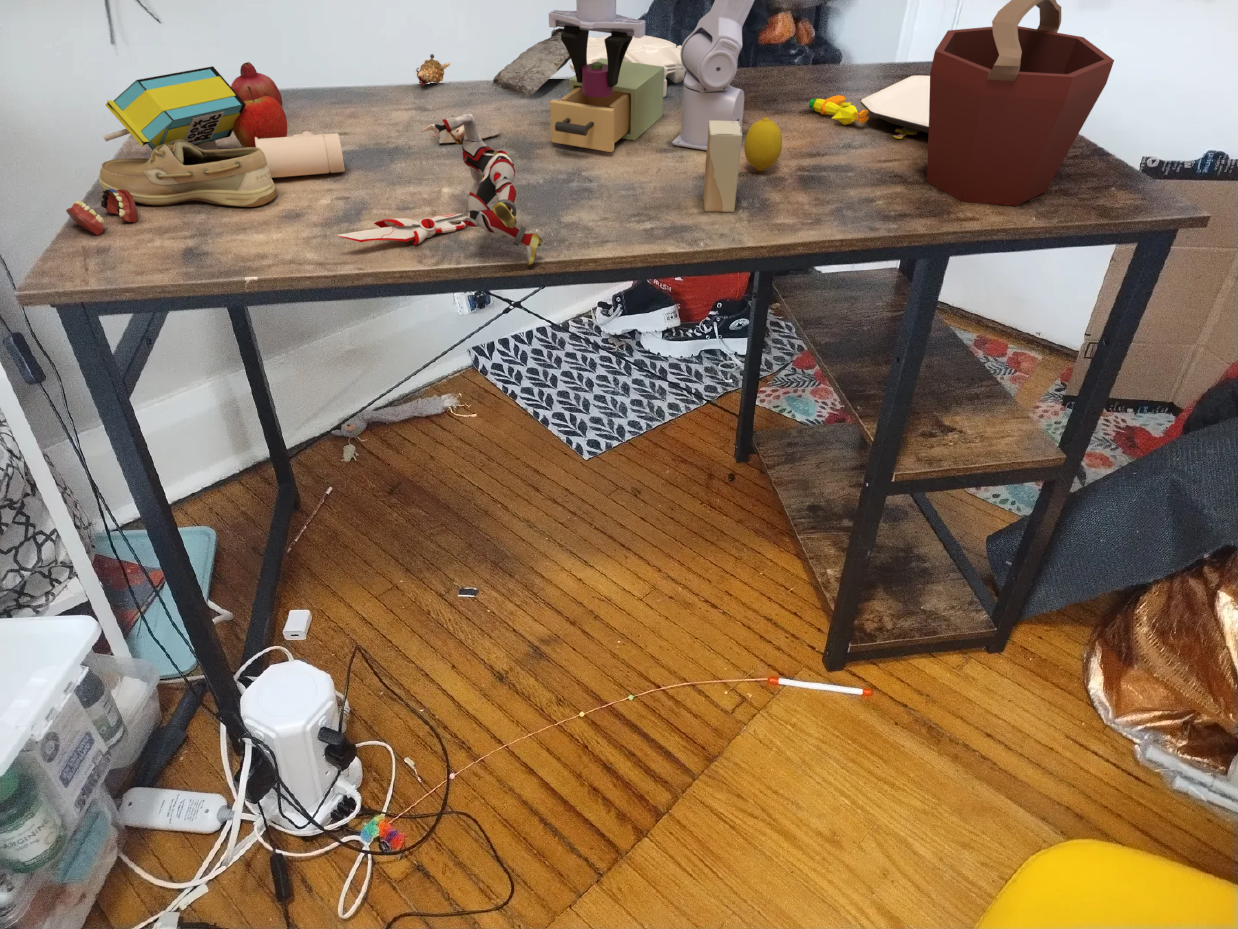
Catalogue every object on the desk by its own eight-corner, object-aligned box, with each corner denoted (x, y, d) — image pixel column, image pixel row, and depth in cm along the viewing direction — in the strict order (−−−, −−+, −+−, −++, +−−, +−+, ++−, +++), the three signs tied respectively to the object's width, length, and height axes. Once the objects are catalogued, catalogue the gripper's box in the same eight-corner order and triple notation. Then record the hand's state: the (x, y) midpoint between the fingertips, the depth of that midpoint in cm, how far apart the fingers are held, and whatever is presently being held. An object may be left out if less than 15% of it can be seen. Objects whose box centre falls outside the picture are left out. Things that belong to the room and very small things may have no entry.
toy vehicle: (546, 31, 169) (548, 65, 173) (598, 74, 152) (599, 111, 156) (657, 15, 176) (656, 48, 180) (718, 54, 159) (716, 90, 163)
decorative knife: (928, 117, 152) (952, 125, 149) (927, 120, 152) (951, 128, 149) (883, 131, 146) (907, 140, 143) (883, 134, 147) (907, 143, 144)
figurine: (397, 82, 161) (413, 103, 163) (414, 70, 158) (431, 92, 160) (435, 48, 169) (450, 69, 171) (452, 36, 166) (467, 58, 168)
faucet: (254, 141, 125) (339, 134, 128) (255, 124, 135) (334, 119, 138) (263, 185, 128) (346, 178, 131) (264, 165, 138) (340, 159, 141)
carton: (194, 102, 135) (88, 124, 121) (211, 64, 130) (103, 83, 116) (228, 141, 135) (127, 167, 122) (246, 105, 130) (143, 128, 117)
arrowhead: (439, 148, 142) (501, 145, 144) (439, 141, 141) (501, 137, 143) (436, 130, 145) (496, 127, 147) (435, 123, 144) (496, 120, 146)
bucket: (998, 231, 120) (1057, 33, 104) (868, 179, 133) (902, -4, 117) (1093, 181, 132) (1159, -4, 115) (965, 137, 145) (1008, -34, 128)
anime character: (372, 317, 101) (314, 199, 115) (458, 374, 114) (396, 261, 127) (519, 179, 97) (440, 73, 110) (591, 255, 110) (512, 151, 123)
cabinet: (634, 140, 144) (635, 89, 139) (570, 130, 148) (568, 79, 142) (662, 115, 153) (664, 66, 148) (601, 106, 156) (600, 57, 151)
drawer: (601, 161, 135) (600, 119, 131) (540, 150, 138) (538, 109, 134) (639, 127, 146) (639, 88, 142) (581, 118, 149) (581, 79, 145)
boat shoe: (93, 202, 124) (71, 145, 119) (126, 176, 131) (107, 121, 126) (262, 215, 123) (247, 158, 117) (288, 188, 129) (275, 133, 124)
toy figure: (880, 119, 149) (830, 104, 157) (880, 98, 147) (830, 83, 155) (849, 134, 147) (801, 118, 155) (849, 113, 145) (800, 97, 153)
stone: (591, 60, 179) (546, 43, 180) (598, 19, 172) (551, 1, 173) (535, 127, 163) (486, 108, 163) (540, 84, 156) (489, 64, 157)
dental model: (55, 197, 116) (114, 179, 121) (67, 226, 119) (124, 208, 124) (77, 210, 114) (136, 191, 119) (88, 240, 117) (146, 220, 121)
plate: (1014, 162, 136) (1019, 148, 134) (845, 117, 149) (848, 103, 148) (1073, 118, 153) (1078, 105, 152) (917, 82, 167) (920, 69, 166)
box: (702, 196, 128) (708, 118, 121) (732, 197, 128) (740, 119, 120) (704, 212, 124) (710, 133, 117) (735, 213, 124) (742, 133, 116)
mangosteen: (617, 89, 136) (617, 60, 133) (605, 99, 133) (605, 69, 130) (589, 85, 137) (589, 57, 134) (577, 95, 134) (576, 65, 131)
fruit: (285, 132, 145) (270, 68, 139) (233, 136, 144) (216, 71, 138) (289, 115, 151) (275, 53, 145) (240, 118, 150) (223, 56, 144)
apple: (249, 168, 134) (231, 100, 128) (233, 151, 139) (215, 85, 133) (301, 156, 138) (286, 90, 131) (284, 140, 143) (268, 75, 136)
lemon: (777, 164, 137) (784, 111, 132) (779, 179, 133) (786, 125, 127) (741, 163, 137) (747, 110, 132) (742, 177, 133) (747, 123, 128)
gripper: (537, -17, 124) (542, 84, 133) (633, -6, 120) (631, 97, 129) (559, -27, 129) (562, 70, 138) (651, -18, 125) (649, 82, 134)
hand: (597, 82), depth 134 cm, fingers closed on mangosteen, 4 cm apart
